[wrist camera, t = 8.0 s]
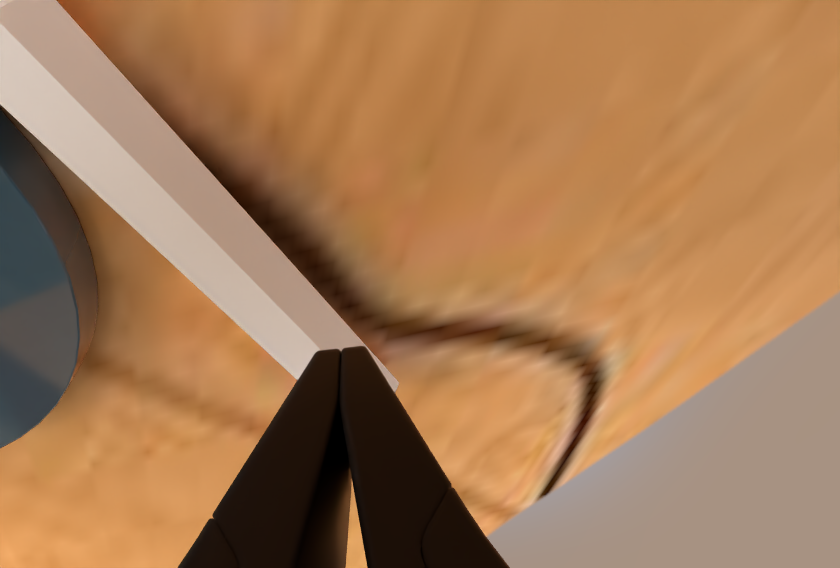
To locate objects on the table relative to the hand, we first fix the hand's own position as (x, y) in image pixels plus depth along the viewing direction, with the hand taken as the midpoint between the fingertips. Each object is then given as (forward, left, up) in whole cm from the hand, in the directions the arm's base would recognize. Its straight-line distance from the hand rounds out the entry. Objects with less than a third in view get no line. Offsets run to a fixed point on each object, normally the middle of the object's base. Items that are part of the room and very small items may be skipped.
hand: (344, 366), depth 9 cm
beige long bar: (+4, 0, -7) cm, 8 cm away
